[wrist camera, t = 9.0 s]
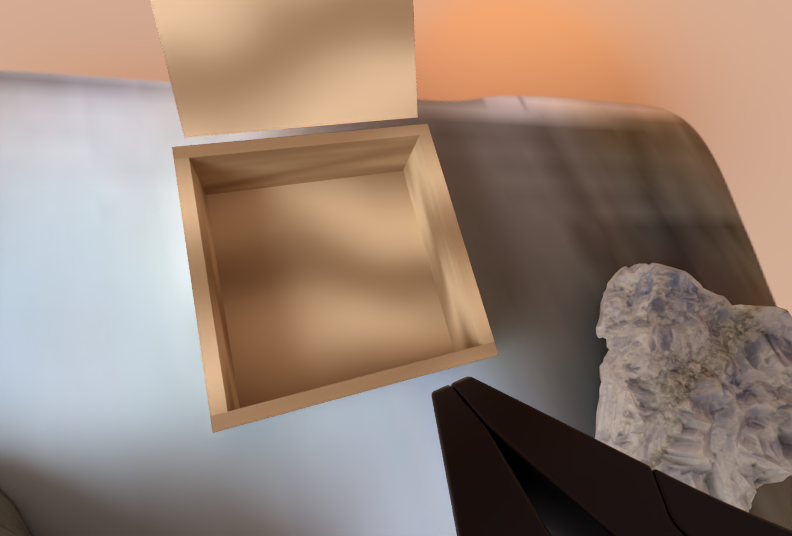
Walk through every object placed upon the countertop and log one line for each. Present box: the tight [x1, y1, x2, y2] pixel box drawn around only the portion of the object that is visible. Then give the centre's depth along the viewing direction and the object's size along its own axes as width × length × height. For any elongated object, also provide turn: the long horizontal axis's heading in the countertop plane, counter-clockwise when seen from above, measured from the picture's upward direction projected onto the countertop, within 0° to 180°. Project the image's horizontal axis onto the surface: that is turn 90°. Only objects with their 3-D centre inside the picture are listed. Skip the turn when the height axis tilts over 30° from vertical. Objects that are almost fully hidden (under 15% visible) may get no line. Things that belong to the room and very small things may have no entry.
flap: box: [150, 0, 418, 137], centre depth 18 cm, size 6×11×1 cm
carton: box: [172, 124, 498, 433], centre depth 20 cm, size 12×12×4 cm
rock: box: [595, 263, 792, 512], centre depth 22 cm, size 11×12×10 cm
